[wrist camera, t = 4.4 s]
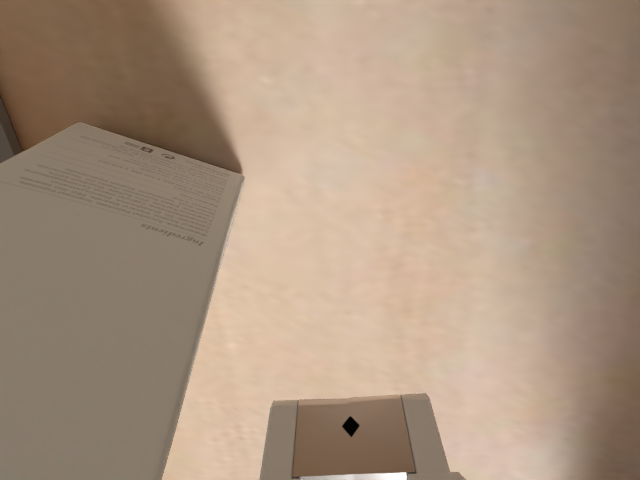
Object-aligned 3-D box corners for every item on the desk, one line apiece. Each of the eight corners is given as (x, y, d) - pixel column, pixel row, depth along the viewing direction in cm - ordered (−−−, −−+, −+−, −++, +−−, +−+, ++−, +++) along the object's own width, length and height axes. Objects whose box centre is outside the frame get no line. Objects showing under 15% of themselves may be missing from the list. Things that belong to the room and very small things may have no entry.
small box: (76, 116, 15) (-549, 427, 4) (248, 173, 17) (161, 522, 5) (55, 293, 19) (-309, 735, 7) (199, 327, 20) (82, 744, 9)
